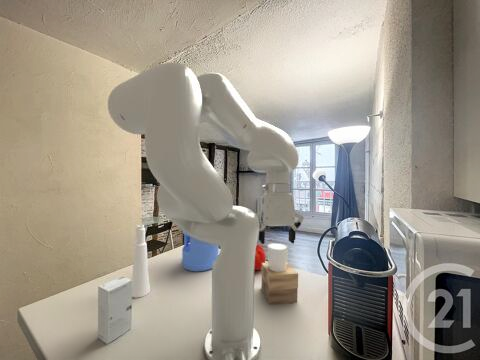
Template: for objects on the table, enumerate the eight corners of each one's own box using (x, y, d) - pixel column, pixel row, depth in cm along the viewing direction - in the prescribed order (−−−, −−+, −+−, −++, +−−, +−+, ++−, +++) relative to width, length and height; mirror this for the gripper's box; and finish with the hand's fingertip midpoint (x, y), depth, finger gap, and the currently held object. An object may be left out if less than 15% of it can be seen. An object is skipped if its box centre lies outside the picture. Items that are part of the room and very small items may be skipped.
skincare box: (107, 345, 46) (107, 292, 46) (96, 337, 48) (96, 286, 48) (133, 327, 51) (133, 279, 51) (122, 321, 53) (122, 275, 53)
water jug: (221, 257, 96) (222, 198, 95) (214, 273, 80) (214, 202, 80) (189, 255, 97) (189, 197, 97) (175, 271, 82) (176, 201, 81)
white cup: (291, 272, 63) (292, 249, 63) (270, 273, 62) (271, 250, 62) (282, 262, 70) (283, 242, 70) (263, 263, 69) (264, 243, 69)
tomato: (249, 276, 78) (249, 253, 78) (235, 264, 88) (235, 243, 88) (271, 271, 83) (272, 249, 82) (256, 260, 93) (256, 240, 93)
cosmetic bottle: (144, 285, 71) (144, 222, 70) (154, 291, 67) (154, 225, 67) (126, 293, 66) (126, 225, 65) (136, 300, 62) (136, 228, 62)
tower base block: (297, 302, 63) (297, 288, 62) (268, 305, 61) (269, 290, 61) (286, 286, 71) (286, 274, 71) (261, 288, 70) (261, 275, 70)
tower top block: (297, 288, 62) (298, 273, 62) (269, 290, 61) (269, 275, 61) (286, 274, 71) (286, 261, 71) (261, 275, 70) (261, 262, 70)
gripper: (253, 189, 61) (252, 246, 61) (309, 190, 63) (307, 245, 63) (249, 188, 68) (248, 239, 68) (298, 189, 70) (297, 238, 70)
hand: (276, 242), depth 65 cm, fingers open, 9 cm apart
